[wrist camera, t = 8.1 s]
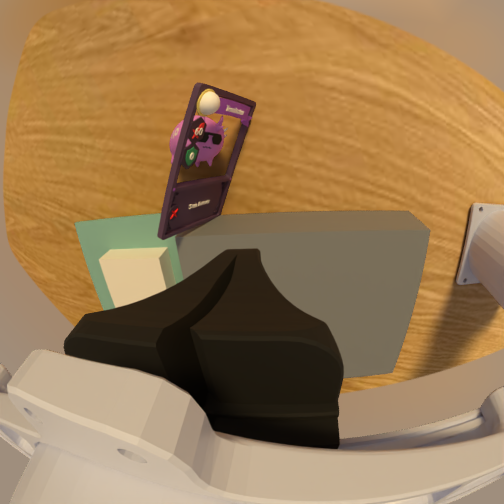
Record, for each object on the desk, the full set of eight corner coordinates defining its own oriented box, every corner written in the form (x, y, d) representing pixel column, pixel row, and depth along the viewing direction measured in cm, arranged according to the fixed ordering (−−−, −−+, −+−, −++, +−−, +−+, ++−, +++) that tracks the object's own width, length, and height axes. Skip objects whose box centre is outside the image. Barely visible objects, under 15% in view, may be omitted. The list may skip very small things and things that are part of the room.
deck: (408, 210, 20) (430, 229, 16) (382, 344, 26) (392, 372, 22) (192, 216, 22) (174, 236, 18) (217, 348, 28) (209, 378, 24)
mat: (179, 211, 22) (177, 212, 21) (208, 351, 28) (208, 353, 28) (76, 222, 23) (74, 223, 23) (120, 343, 30) (119, 344, 29)
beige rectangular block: (98, 259, 22) (109, 249, 24) (128, 339, 26) (136, 327, 27) (158, 258, 21) (167, 247, 23) (182, 344, 25) (188, 330, 27)
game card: (170, 246, 16) (213, 85, 12) (113, 211, 17) (142, 73, 13) (228, 220, 21) (266, 105, 17) (176, 195, 23) (205, 89, 19)
